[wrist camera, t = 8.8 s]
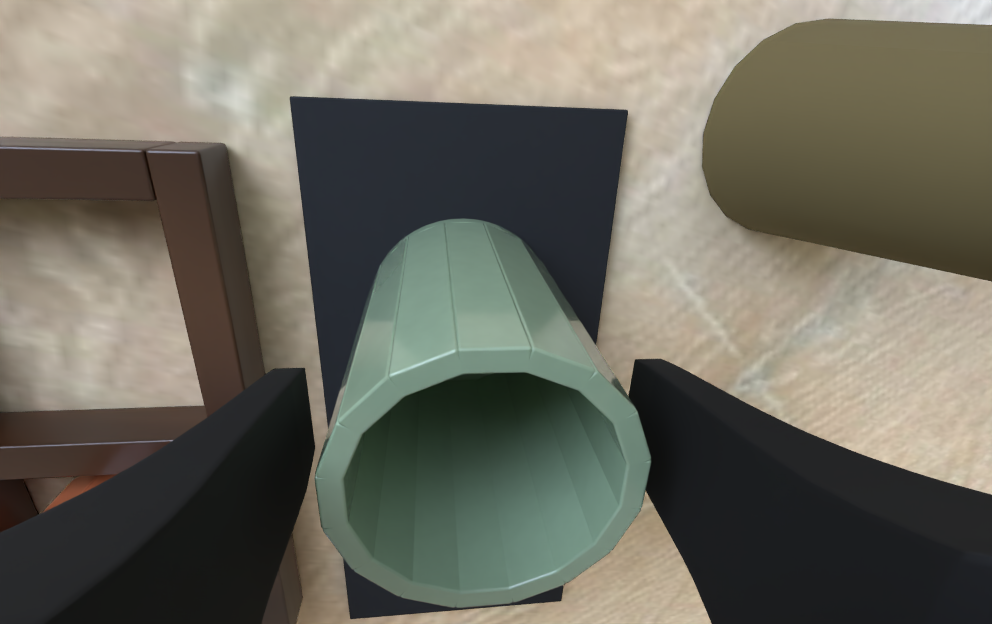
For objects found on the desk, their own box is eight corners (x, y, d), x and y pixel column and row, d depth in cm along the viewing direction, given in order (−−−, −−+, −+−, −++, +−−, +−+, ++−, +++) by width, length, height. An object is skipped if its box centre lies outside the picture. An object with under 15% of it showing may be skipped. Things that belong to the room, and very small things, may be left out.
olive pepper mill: (890, 199, 16) (1615, 377, 6) (712, 257, 16) (1151, 523, 6) (901, -12, 14) (2148, -271, 4) (689, 58, 14) (1361, -14, 4)
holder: (303, 596, 20) (292, 640, 19) (48, 616, 19) (13, 665, 18) (227, 142, 13) (198, 150, 12) (-186, 131, 12) (-281, 138, 11)
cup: (542, 380, 17) (625, 594, 10) (375, 385, 16) (333, 620, 9) (557, 219, 15) (677, 344, 8) (364, 217, 14) (296, 352, 7)
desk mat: (559, 595, 22) (561, 601, 22) (351, 612, 21) (350, 619, 21) (624, 109, 14) (628, 110, 14) (291, 96, 13) (289, 96, 13)
